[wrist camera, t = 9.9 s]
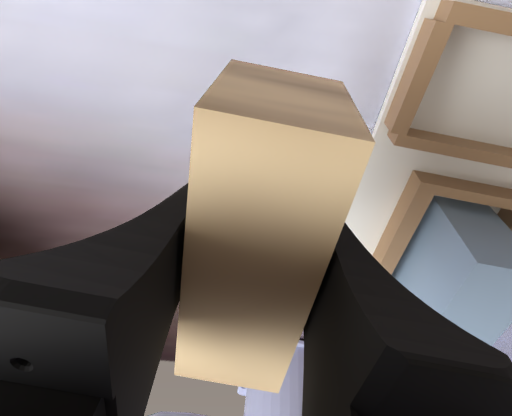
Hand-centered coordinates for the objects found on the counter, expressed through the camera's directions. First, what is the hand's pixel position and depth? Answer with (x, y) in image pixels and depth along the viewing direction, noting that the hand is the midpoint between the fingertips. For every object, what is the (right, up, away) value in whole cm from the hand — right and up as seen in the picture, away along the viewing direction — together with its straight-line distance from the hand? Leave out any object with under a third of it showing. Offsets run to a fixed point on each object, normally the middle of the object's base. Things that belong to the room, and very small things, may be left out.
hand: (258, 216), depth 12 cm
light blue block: (+11, -3, +11) cm, 16 cm away
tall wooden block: (0, +1, +1) cm, 2 cm away
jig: (+12, 0, +10) cm, 15 cm away
